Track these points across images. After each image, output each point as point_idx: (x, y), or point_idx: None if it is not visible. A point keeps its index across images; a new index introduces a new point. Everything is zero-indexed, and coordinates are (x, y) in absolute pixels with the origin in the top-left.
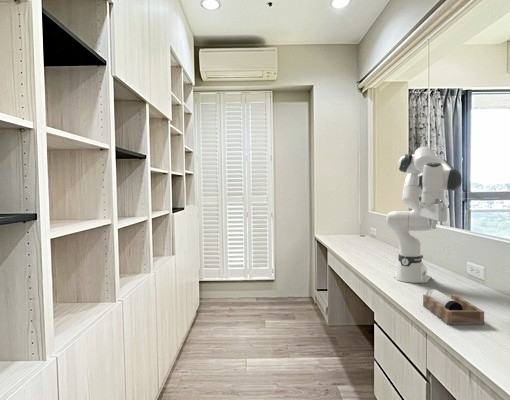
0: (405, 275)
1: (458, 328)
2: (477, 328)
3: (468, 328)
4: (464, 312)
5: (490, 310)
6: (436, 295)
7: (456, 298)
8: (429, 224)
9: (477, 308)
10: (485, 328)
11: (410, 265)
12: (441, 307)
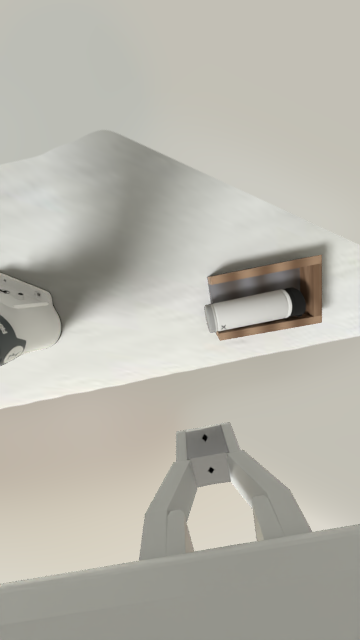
0: (46, 339)
1: None
2: None
3: None
4: (320, 292)
5: (224, 214)
6: (245, 323)
7: (232, 280)
8: (193, 488)
9: (302, 261)
10: None
11: (22, 337)
12: (298, 326)
